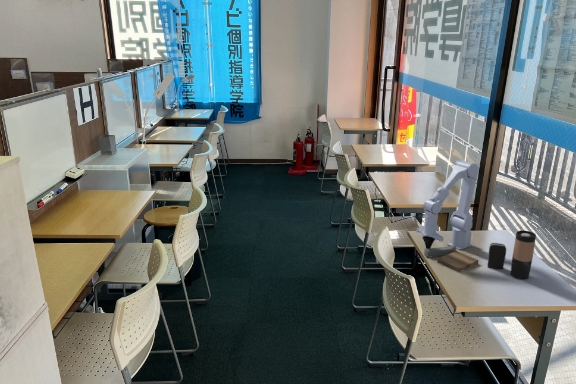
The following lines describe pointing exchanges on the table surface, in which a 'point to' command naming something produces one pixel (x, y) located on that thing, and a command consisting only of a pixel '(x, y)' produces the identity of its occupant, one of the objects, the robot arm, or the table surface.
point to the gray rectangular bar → (437, 251)
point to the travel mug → (522, 254)
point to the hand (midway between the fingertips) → (428, 250)
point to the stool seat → (457, 260)
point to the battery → (496, 255)
